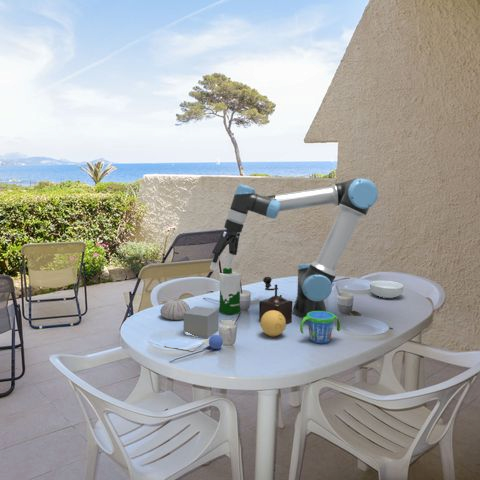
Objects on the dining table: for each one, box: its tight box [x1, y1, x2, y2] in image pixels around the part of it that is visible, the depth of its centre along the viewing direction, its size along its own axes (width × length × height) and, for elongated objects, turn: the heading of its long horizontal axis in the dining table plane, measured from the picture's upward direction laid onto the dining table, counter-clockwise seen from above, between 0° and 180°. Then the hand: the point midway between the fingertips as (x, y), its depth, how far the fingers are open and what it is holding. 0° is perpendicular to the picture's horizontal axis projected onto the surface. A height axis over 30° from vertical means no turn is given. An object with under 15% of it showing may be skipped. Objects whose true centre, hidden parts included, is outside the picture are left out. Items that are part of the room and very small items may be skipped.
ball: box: [208, 334, 224, 350], centre depth 159 cm, size 5×5×5 cm
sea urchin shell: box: [159, 298, 191, 321], centre depth 194 cm, size 13×14×8 cm
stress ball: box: [259, 310, 287, 338], centre depth 172 cm, size 10×10×10 cm
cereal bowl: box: [369, 280, 404, 299], centre depth 234 cm, size 17×17×7 cm
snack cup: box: [299, 311, 342, 344], centre depth 168 cm, size 16×10×10 cm
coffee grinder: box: [258, 276, 293, 325], centre depth 191 cm, size 16×11×18 cm
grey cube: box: [183, 305, 220, 340], centre depth 175 cm, size 10×10×9 cm
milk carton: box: [218, 267, 243, 316], centre depth 202 cm, size 9×9×20 cm
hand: (219, 269), depth 187 cm, fingers open, 13 cm apart
